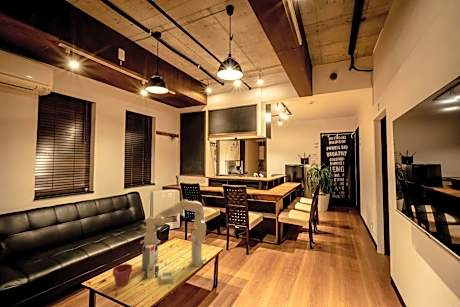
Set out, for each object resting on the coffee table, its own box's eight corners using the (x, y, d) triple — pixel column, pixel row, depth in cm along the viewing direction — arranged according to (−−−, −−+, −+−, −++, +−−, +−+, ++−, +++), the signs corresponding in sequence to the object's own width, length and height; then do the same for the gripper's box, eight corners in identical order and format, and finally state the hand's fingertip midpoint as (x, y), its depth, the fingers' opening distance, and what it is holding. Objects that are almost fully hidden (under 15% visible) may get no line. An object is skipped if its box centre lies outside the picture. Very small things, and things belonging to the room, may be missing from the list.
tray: (173, 274, 191) (173, 271, 191) (172, 281, 180) (173, 278, 180) (161, 276, 189) (161, 272, 189) (160, 283, 178) (160, 279, 178)
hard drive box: (149, 270, 199) (149, 248, 199) (141, 269, 200) (141, 247, 201) (158, 262, 214) (158, 242, 215) (151, 261, 216) (151, 241, 216)
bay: (158, 271, 198) (158, 265, 198) (157, 277, 187) (157, 271, 187) (145, 272, 195) (145, 267, 195) (143, 279, 185) (143, 273, 185)
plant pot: (127, 277, 188) (127, 261, 188) (135, 282, 179) (135, 267, 179) (109, 284, 177) (109, 268, 177) (117, 291, 168) (117, 274, 168)
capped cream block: (154, 272, 195) (155, 263, 195) (153, 277, 188) (154, 267, 188) (148, 273, 194) (148, 263, 194) (147, 278, 186) (147, 267, 187)
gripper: (161, 229, 198) (161, 249, 198) (141, 230, 196) (141, 249, 196) (159, 232, 191) (159, 252, 190) (139, 232, 189) (138, 253, 188)
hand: (150, 250), depth 193 cm, fingers open, 9 cm apart
